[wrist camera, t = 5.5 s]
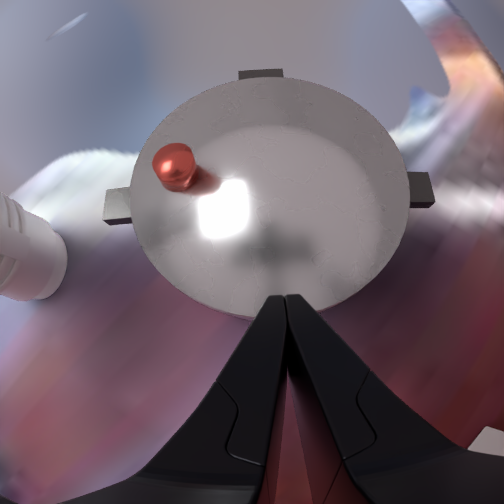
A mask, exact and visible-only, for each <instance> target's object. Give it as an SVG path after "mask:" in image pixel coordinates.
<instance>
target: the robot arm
mask: <svg viewBox="0 0 504 504" xmlns="http://www.w3.org/2000/svg"><path fill="white" fill-rule="evenodd" d="M287 369H288V377H289V383H290V388H291V393H292V398H293V403H294V408H295V413H296V418H297V423H298V428H299V433H300V438H301V443H302V448H303V453H304V458H305V464H306V469H307V474H308V479H309V484H310V489H311V495H312V500H313V504H504V456H499V455H493V454H486V453H481V452H475V451H471V450H468V449H465V448H463V447H461V446H458V445H457V444H455V443H453V442H452V441H450V440H449V439H448V438H446V437H445V436H444V435H443V434H441V433H440V432H439V431H438V430H437V429H435V428H434V427H433V426H432V425H430V424H429V423H428V422H427V421H426V420H424V419H423V418H422V417H421V416H420V415H418V414H417V413H416V412H415V411H413V410H412V409H411V408H410V407H409V406H408V405H406V404H405V403H404V402H403V401H402V400H401V399H400V398H399V397H397V396H396V395H395V394H394V393H393V392H392V391H391V390H390V389H389V388H388V387H387V386H386V385H385V384H384V383H383V382H382V381H381V380H380V379H379V378H378V377H377V375H376V374H375V373H374V372H373V371H370V368H369V367H368V366H367V365H366V364H365V363H364V362H363V361H362V359H361V358H360V357H359V356H358V355H357V354H356V353H355V352H354V351H353V350H352V349H351V348H350V347H349V346H348V344H347V343H346V342H345V341H344V340H343V339H342V338H341V337H340V336H339V335H338V334H337V333H336V332H335V331H334V330H333V328H332V327H331V326H330V325H329V324H328V323H327V322H326V321H325V320H324V319H323V318H322V317H321V316H320V315H319V314H318V312H317V311H316V310H315V309H314V308H313V307H312V306H311V305H310V304H309V303H308V302H307V301H306V300H305V299H304V298H303V296H302V295H300V294H286V295H285V296H283V295H269V296H267V298H266V300H265V301H264V303H263V304H262V306H261V308H260V309H259V311H258V313H257V314H256V316H255V318H254V319H253V321H252V323H251V324H250V326H249V327H248V329H247V331H246V332H245V334H244V336H243V337H242V339H241V340H240V342H239V344H238V345H237V347H236V348H235V350H234V352H233V353H232V355H231V356H230V358H229V360H228V361H227V363H226V364H225V366H224V368H223V369H222V371H221V372H220V374H219V375H218V377H217V379H216V381H215V382H214V383H213V385H212V386H211V388H210V389H209V391H208V392H207V394H206V395H205V397H204V398H203V400H202V401H201V402H200V404H199V405H198V407H197V408H196V409H195V411H194V412H193V413H192V414H191V416H190V417H189V418H188V419H187V420H186V422H185V423H184V424H183V425H182V426H181V427H180V428H179V430H178V431H177V432H176V433H175V434H174V435H173V436H172V437H171V439H170V440H169V441H168V442H167V443H166V444H165V445H164V446H163V447H162V448H161V449H160V451H159V452H158V453H157V454H156V455H155V456H154V457H153V458H152V459H151V460H150V461H149V462H148V463H147V464H146V465H145V466H144V467H143V468H142V469H141V470H140V471H138V472H137V473H136V474H134V475H133V476H131V477H129V478H128V479H126V480H123V481H121V482H119V483H116V484H114V485H111V486H108V487H106V488H103V489H100V490H97V491H95V492H92V493H89V494H86V495H83V496H80V497H77V498H74V499H71V500H68V501H64V502H61V503H58V504H274V502H275V494H276V486H277V477H278V469H279V460H280V451H281V441H282V431H283V421H284V411H285V400H286V388H287ZM0 504H18V503H16V502H14V501H12V500H10V499H8V498H6V497H4V496H3V495H1V494H0Z"/></svg>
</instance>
